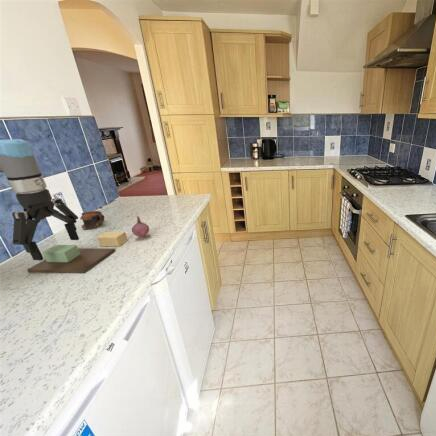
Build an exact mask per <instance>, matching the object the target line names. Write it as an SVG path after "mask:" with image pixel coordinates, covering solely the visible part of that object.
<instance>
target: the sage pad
mask: <svg viewBox="0 0 436 436" xmlns="http://www.w3.org/2000/svg"><path fill="white" fill-rule="evenodd" d="M78 248H79V247H78V246H77V244H54V245H52V246H51V247H49V248H47V249H46V250H43V251H42V252H41V254H42V256H43V258H44V260H45V259H46V261H47V262H69V261H71V260H73V259H74V258H76V257H77V256H79V255H80V252H79V250H78Z"/></svg>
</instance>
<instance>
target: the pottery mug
mask: <svg viewBox="0 0 436 436" xmlns="http://www.w3.org/2000/svg"><path fill="white" fill-rule="evenodd" d="M79 220H81V221H82V223H83V224H82V225H81V228H82V230H84V231H85V230H92V229H97V228H98V227H97V225H98V226H101V225H103V223H104V222H105V215H104V214H103V212H102V211H99V210H90V211H85V212H82V213H81V216H80V217H79Z"/></svg>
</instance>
